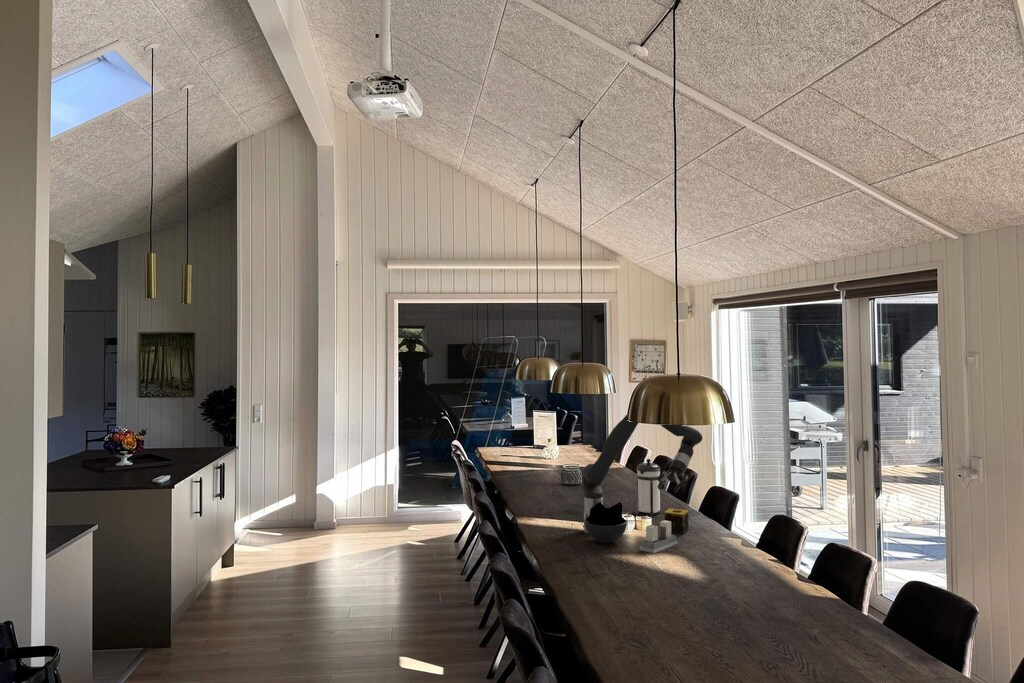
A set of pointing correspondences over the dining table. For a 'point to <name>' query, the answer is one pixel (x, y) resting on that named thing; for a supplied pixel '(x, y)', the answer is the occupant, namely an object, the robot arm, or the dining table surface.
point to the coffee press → (648, 488)
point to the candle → (677, 520)
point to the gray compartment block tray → (656, 540)
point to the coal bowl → (605, 523)
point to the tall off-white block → (665, 529)
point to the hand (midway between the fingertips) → (666, 490)
